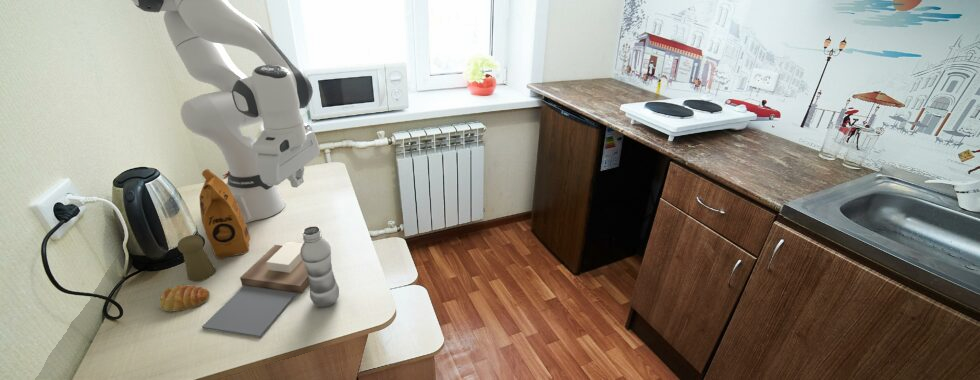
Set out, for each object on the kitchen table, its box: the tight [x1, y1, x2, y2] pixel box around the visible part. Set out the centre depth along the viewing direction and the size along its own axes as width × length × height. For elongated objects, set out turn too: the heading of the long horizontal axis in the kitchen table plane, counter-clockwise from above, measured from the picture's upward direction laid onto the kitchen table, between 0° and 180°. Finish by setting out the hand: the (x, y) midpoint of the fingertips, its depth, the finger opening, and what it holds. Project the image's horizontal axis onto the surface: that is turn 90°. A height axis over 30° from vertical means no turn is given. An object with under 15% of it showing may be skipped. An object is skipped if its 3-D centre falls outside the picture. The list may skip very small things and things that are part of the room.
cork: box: [177, 234, 217, 283], centre depth 104 cm, size 6×6×11 cm
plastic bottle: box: [300, 225, 340, 308], centre depth 94 cm, size 6×7×20 cm
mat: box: [201, 286, 298, 339], centre depth 95 cm, size 14×14×1 cm
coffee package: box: [199, 168, 251, 260], centre depth 112 cm, size 10×12×22 cm
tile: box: [267, 241, 304, 273], centre depth 107 cm, size 6×9×2 cm, turn 171°
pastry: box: [159, 284, 210, 313], centre depth 97 cm, size 9×7×4 cm
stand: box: [239, 244, 310, 295], centre depth 107 cm, size 16×14×2 cm
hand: (297, 184), depth 108 cm, fingers closed
